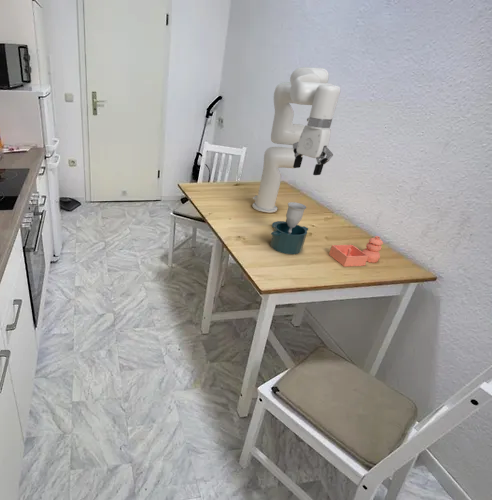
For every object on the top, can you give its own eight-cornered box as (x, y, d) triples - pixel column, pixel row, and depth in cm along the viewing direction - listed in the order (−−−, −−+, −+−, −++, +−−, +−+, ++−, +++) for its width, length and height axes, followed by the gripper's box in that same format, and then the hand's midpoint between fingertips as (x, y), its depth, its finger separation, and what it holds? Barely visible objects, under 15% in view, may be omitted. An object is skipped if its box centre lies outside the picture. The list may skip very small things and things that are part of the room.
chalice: (274, 241, 153) (284, 202, 144) (289, 242, 154) (300, 202, 145) (281, 250, 147) (292, 208, 138) (297, 250, 147) (309, 209, 139)
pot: (259, 243, 152) (263, 225, 148) (290, 237, 159) (295, 220, 155) (280, 257, 142) (285, 238, 138) (312, 250, 149) (318, 231, 145)
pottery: (343, 266, 138) (352, 243, 134) (328, 254, 146) (336, 232, 142) (384, 264, 141) (394, 242, 137) (368, 252, 149) (376, 231, 145)
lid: (265, 225, 169) (268, 214, 167) (286, 221, 174) (289, 211, 172) (286, 237, 159) (289, 225, 156) (308, 233, 164) (311, 221, 161)
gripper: (292, 119, 132) (282, 165, 140) (332, 128, 119) (317, 178, 127) (307, 119, 135) (296, 164, 143) (347, 127, 121) (332, 177, 130)
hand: (306, 171), depth 135 cm, fingers open, 9 cm apart
